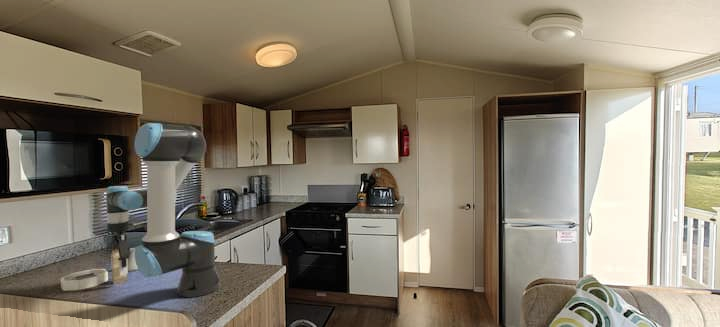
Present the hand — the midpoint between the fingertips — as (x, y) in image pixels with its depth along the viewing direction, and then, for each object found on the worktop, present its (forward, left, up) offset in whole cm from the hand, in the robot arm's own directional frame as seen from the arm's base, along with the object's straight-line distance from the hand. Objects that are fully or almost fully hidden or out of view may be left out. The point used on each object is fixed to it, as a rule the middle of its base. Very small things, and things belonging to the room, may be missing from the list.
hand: (119, 271), depth 138 cm
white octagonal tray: (+10, +10, -5) cm, 15 cm away
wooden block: (0, 0, -5) cm, 5 cm away
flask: (+16, -9, -5) cm, 19 cm away
